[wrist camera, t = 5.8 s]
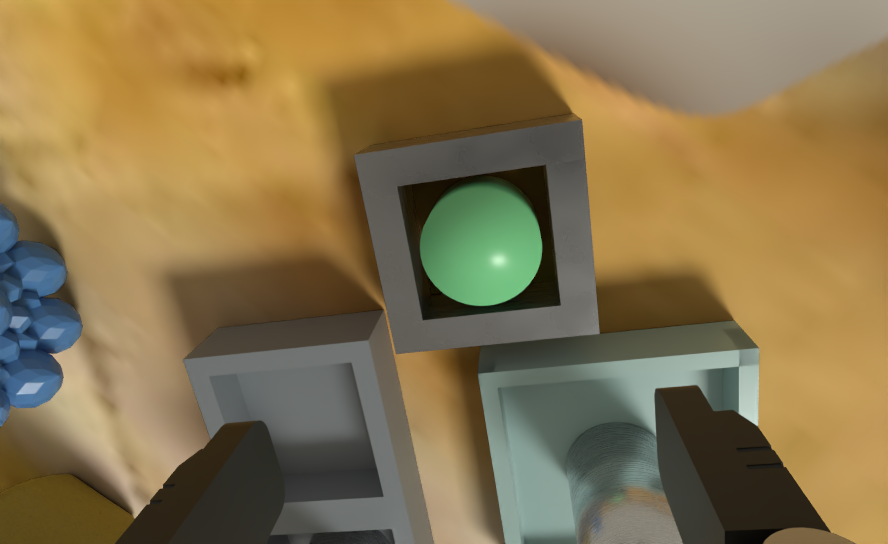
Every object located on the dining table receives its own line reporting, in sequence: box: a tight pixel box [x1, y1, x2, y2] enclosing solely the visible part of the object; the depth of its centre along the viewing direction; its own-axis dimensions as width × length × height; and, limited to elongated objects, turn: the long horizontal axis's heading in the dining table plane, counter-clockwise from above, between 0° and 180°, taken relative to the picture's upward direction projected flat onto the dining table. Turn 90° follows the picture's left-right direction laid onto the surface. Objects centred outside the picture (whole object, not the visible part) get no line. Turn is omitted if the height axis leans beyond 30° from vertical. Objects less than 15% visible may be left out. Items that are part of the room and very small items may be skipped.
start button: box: [420, 176, 542, 306], centre depth 25 cm, size 5×5×3 cm
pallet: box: [183, 310, 434, 544], centre depth 31 cm, size 19×9×3 cm, turn 9°
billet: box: [566, 422, 683, 544], centre depth 25 cm, size 5×5×8 cm
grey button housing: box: [354, 113, 600, 354], centre depth 25 cm, size 9×9×3 cm
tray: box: [478, 320, 759, 544], centre depth 29 cm, size 12×14×3 cm
